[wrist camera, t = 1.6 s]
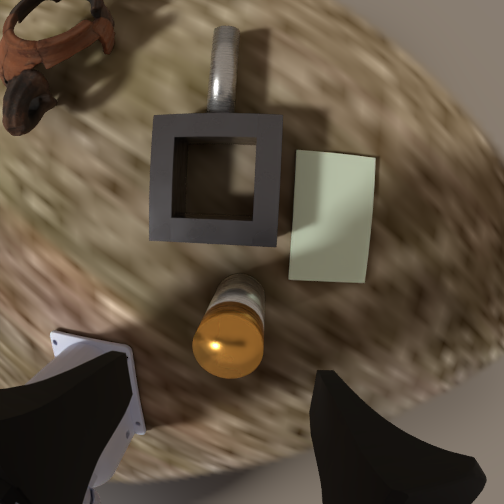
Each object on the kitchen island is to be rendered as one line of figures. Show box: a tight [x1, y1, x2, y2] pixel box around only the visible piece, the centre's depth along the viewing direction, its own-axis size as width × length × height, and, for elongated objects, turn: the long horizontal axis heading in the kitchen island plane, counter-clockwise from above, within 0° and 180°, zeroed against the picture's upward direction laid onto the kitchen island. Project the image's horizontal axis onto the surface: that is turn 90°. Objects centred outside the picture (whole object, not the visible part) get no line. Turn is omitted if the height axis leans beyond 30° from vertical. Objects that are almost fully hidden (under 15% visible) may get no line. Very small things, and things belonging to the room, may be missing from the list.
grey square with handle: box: [149, 26, 283, 247], centre depth 17 cm, size 13×7×3 cm, turn 177°
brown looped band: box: [0, 0, 115, 136], centre depth 15 cm, size 12×10×8 cm
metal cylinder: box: [192, 274, 265, 378], centre depth 17 cm, size 3×3×7 cm
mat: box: [288, 150, 376, 283], centre depth 19 cm, size 8×5×1 cm, turn 177°
